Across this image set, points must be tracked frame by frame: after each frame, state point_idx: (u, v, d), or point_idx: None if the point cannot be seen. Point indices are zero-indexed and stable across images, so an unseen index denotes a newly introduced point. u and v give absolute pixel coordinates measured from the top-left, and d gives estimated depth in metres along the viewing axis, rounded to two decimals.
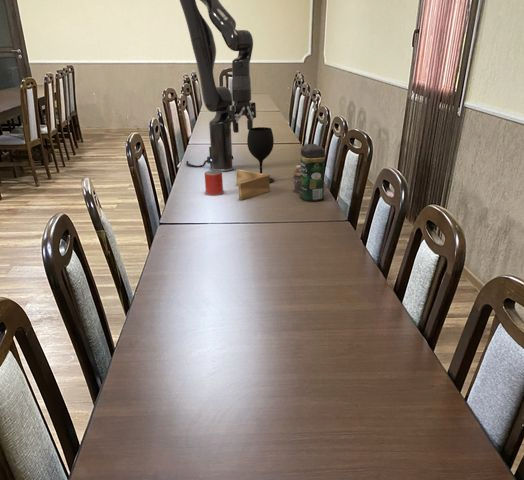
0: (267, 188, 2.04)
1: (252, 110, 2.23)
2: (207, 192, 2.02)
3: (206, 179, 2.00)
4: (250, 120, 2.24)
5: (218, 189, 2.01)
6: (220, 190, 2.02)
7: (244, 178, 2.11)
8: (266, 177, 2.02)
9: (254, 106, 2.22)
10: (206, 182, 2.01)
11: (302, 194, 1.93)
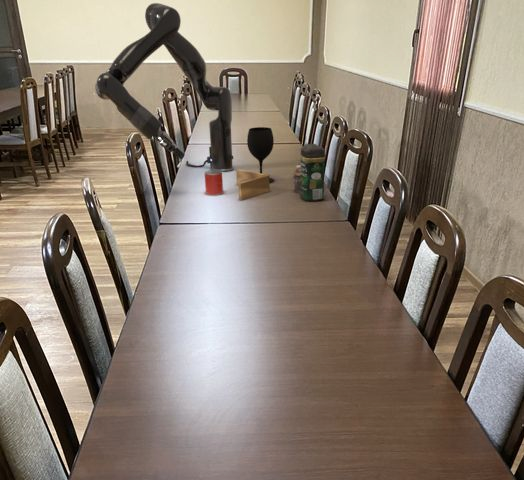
0: (267, 188, 2.04)
1: None
2: (207, 192, 2.02)
3: (206, 179, 2.00)
4: None
5: (218, 189, 2.01)
6: (220, 190, 2.02)
7: (244, 178, 2.11)
8: (266, 177, 2.02)
9: None
10: (206, 182, 2.01)
11: (302, 194, 1.93)
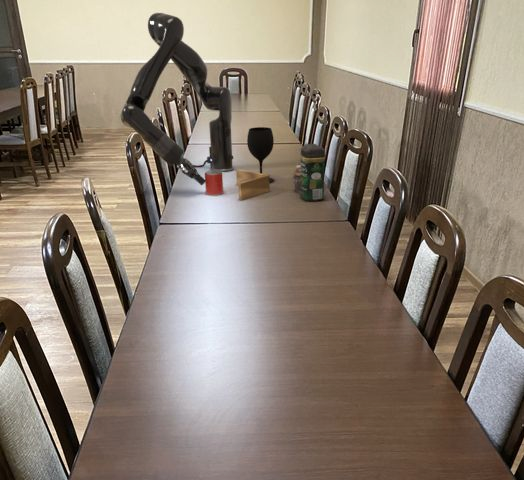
0: (267, 188, 2.04)
1: None
2: (207, 192, 2.02)
3: (206, 179, 2.00)
4: None
5: (218, 189, 2.01)
6: (220, 190, 2.02)
7: (244, 178, 2.11)
8: (266, 177, 2.02)
9: None
10: (206, 182, 2.01)
11: (302, 194, 1.93)
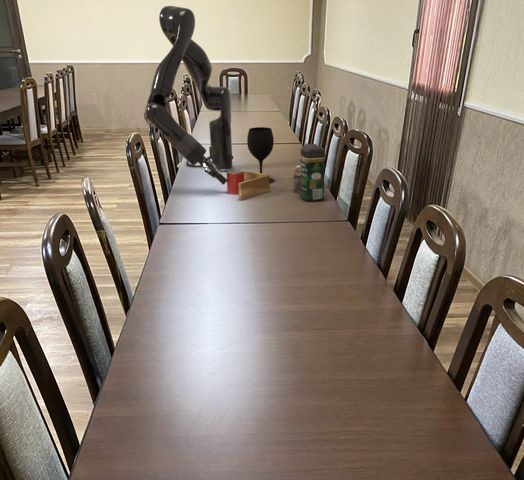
0: (267, 188, 2.04)
1: None
2: (230, 191, 2.03)
3: (230, 178, 2.00)
4: None
5: None
6: None
7: (244, 178, 2.11)
8: (266, 177, 2.02)
9: None
10: (229, 181, 2.01)
11: (302, 194, 1.93)
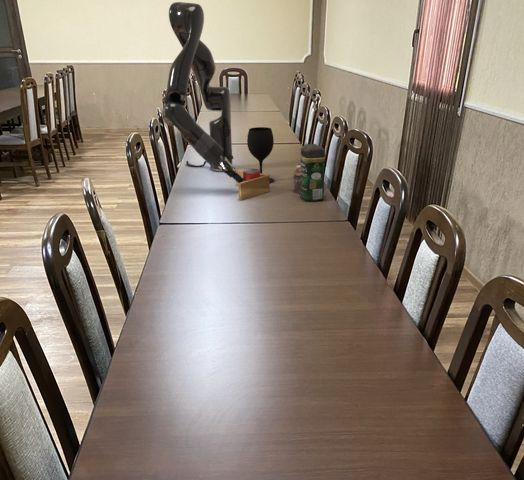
0: (267, 188, 2.04)
1: None
2: None
3: (247, 178, 2.01)
4: None
5: None
6: None
7: None
8: (266, 177, 2.02)
9: (223, 171, 1.96)
10: None
11: (302, 194, 1.93)
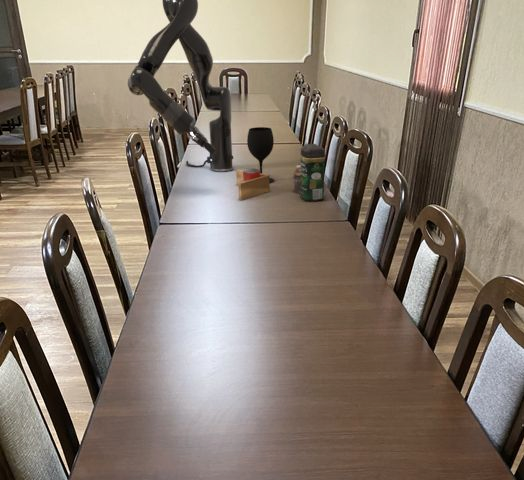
0: (267, 188, 2.04)
1: None
2: None
3: (247, 178, 2.01)
4: None
5: None
6: None
7: None
8: (266, 177, 2.02)
9: (194, 141, 1.90)
10: None
11: (302, 194, 1.93)
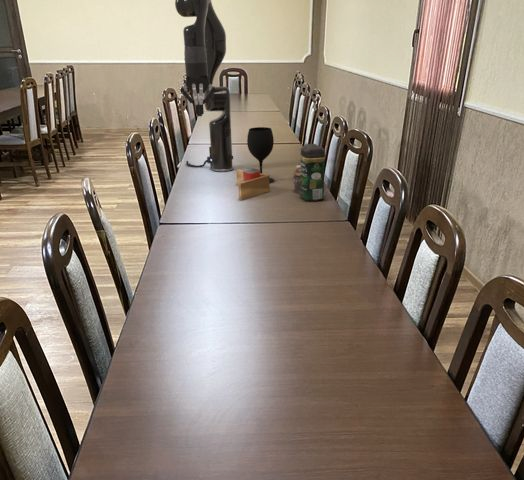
0: (267, 188, 2.04)
1: (208, 93, 1.89)
2: None
3: (247, 178, 2.01)
4: (198, 103, 1.90)
5: None
6: None
7: None
8: (266, 177, 2.02)
9: (212, 91, 1.88)
10: None
11: (302, 194, 1.93)
